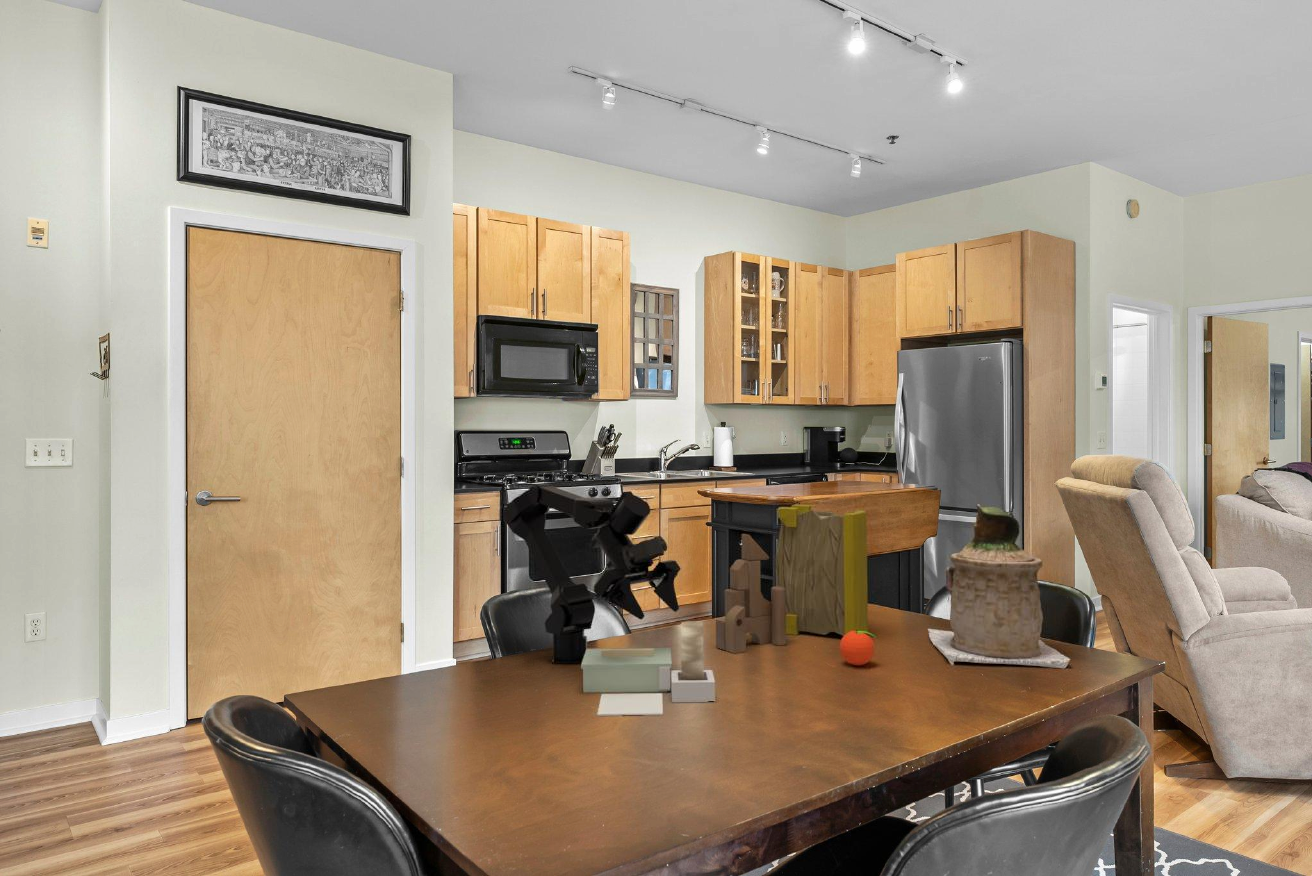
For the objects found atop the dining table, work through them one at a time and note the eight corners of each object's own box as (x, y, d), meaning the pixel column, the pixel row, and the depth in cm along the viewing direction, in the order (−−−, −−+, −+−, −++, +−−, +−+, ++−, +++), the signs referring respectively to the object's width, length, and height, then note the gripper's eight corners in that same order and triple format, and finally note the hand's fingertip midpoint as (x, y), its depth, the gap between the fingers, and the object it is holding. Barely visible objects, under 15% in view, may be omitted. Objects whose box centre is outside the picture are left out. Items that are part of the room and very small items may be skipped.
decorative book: (871, 632, 194) (869, 506, 194) (856, 642, 185) (854, 510, 185) (791, 623, 205) (790, 504, 205) (774, 633, 195) (772, 507, 196)
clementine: (877, 660, 170) (876, 626, 170) (883, 670, 163) (882, 634, 163) (837, 660, 171) (837, 626, 171) (842, 669, 164) (841, 633, 164)
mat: (597, 716, 137) (597, 714, 137) (601, 695, 148) (601, 694, 148) (662, 715, 137) (662, 713, 137) (662, 695, 148) (662, 693, 148)
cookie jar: (1075, 670, 162) (1072, 508, 162) (945, 666, 166) (943, 508, 166) (1037, 640, 186) (1035, 499, 186) (924, 637, 190) (923, 499, 190)
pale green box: (578, 703, 144) (578, 667, 144) (586, 675, 162) (586, 642, 162) (715, 702, 144) (714, 665, 144) (708, 673, 162) (708, 641, 162)
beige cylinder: (682, 699, 146) (681, 626, 146) (681, 692, 150) (680, 621, 150) (704, 699, 146) (703, 626, 146) (703, 692, 150) (702, 621, 150)
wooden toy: (733, 654, 176) (732, 538, 176) (715, 648, 182) (714, 535, 182) (789, 644, 184) (787, 533, 184) (770, 638, 190) (769, 531, 190)
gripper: (603, 527, 151) (645, 594, 143) (673, 519, 164) (715, 581, 156) (576, 565, 156) (615, 632, 148) (646, 555, 170) (685, 616, 162)
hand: (660, 614), depth 154 cm, fingers open, 9 cm apart
